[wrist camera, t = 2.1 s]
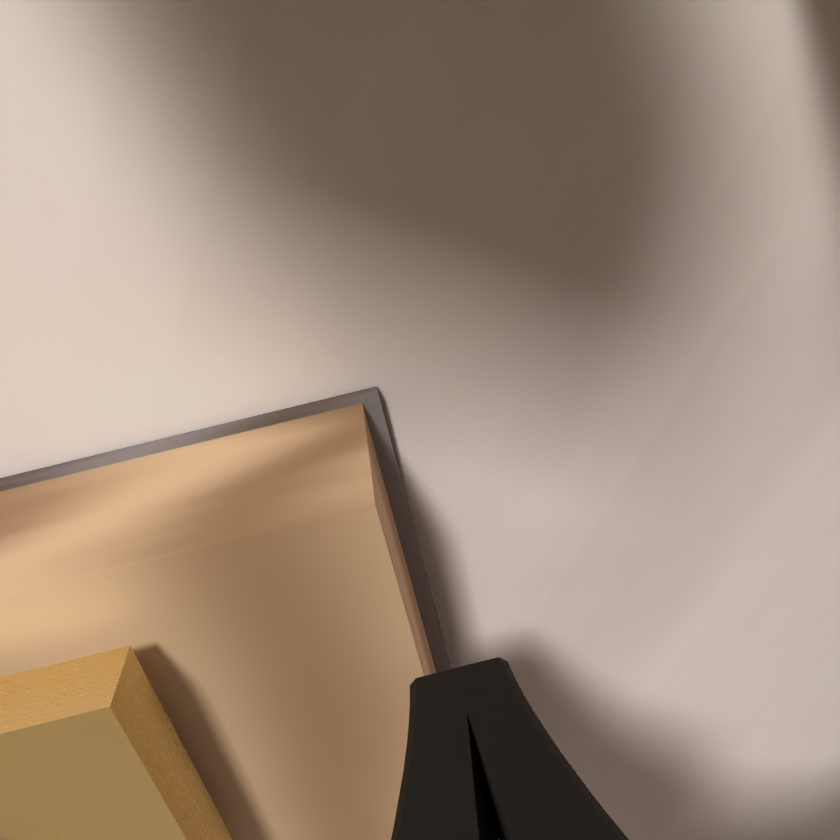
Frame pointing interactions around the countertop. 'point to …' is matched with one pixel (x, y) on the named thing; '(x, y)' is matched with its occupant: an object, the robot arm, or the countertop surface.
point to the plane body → (242, 604)
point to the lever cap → (96, 758)
